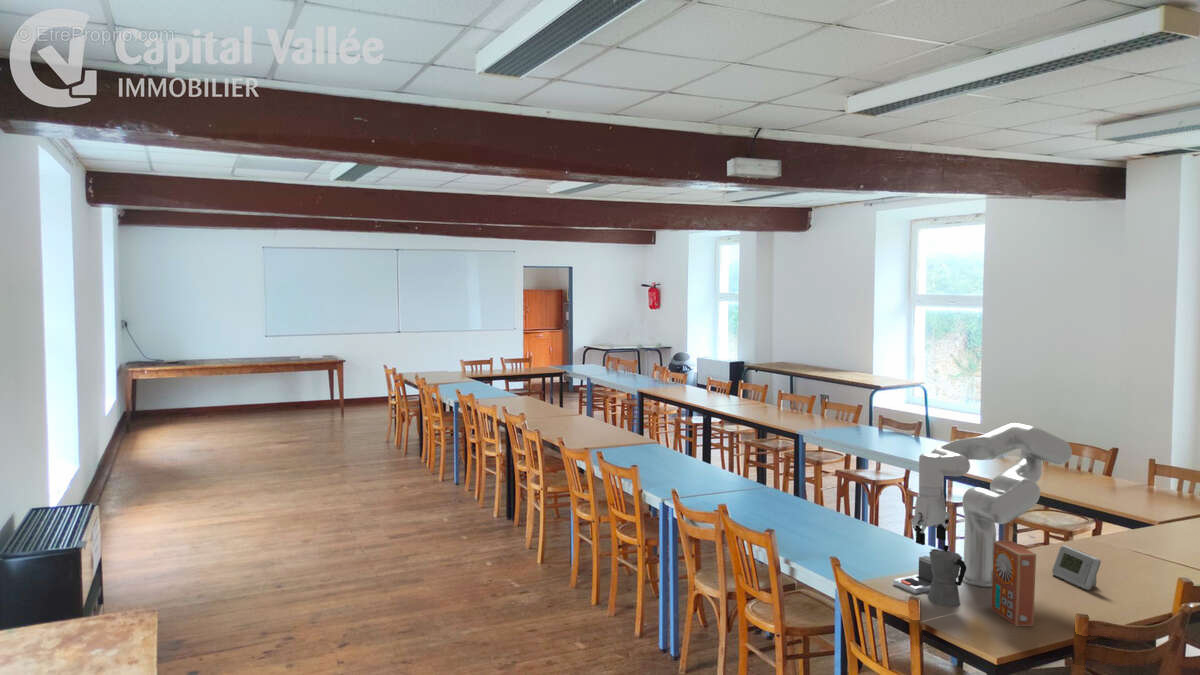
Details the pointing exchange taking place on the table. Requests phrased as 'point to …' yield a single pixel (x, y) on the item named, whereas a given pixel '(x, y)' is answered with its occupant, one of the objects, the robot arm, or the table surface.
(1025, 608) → the control panel
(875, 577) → the table surface
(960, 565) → the coffeepot
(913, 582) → the power strip
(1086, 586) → the digital clock
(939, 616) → the table surface
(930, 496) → the robot arm
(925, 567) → the plug
